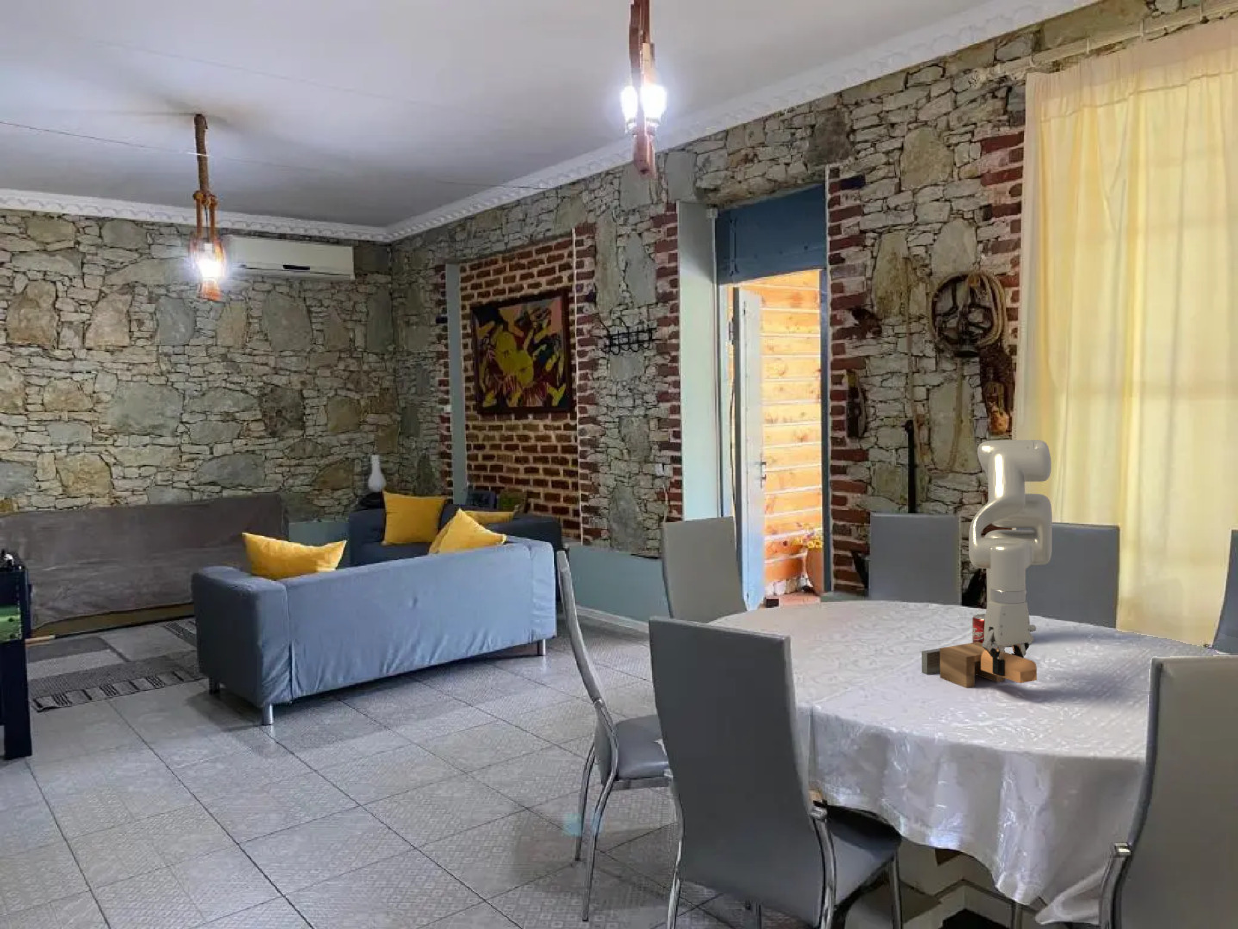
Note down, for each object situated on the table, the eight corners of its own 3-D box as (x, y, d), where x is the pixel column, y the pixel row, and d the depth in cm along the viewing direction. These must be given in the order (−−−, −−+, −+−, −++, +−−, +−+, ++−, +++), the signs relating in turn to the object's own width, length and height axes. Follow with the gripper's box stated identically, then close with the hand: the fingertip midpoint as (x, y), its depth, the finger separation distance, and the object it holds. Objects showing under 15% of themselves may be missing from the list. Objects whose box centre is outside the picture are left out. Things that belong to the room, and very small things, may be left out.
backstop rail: (965, 665, 237) (964, 644, 236) (970, 667, 235) (970, 646, 234) (921, 672, 231) (921, 651, 231) (927, 674, 229) (927, 653, 229)
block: (977, 671, 231) (977, 642, 231) (1004, 680, 223) (1004, 650, 222) (940, 677, 227) (939, 648, 226) (966, 687, 218) (966, 657, 218)
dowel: (980, 669, 218) (980, 649, 218) (997, 667, 220) (996, 646, 220) (1020, 683, 207) (1020, 661, 207) (1036, 680, 209) (1036, 658, 209)
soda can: (1001, 659, 241) (1001, 614, 240) (1003, 666, 234) (1003, 620, 233) (972, 657, 243) (971, 612, 242) (973, 664, 236) (972, 619, 236)
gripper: (1023, 590, 219) (1023, 664, 220) (967, 597, 213) (967, 674, 214) (1048, 595, 212) (1048, 672, 213) (991, 603, 206) (992, 682, 207)
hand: (1008, 672), depth 214 cm, fingers closed on dowel, 5 cm apart
